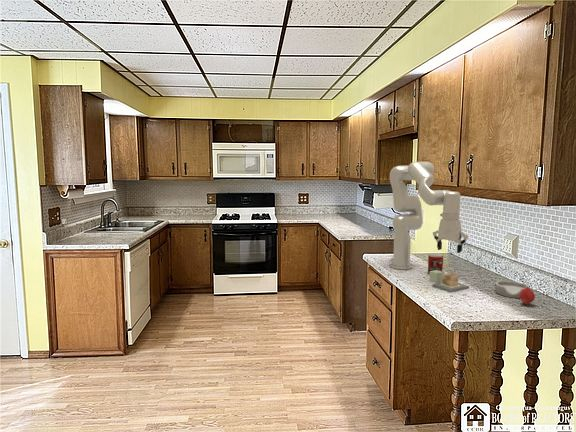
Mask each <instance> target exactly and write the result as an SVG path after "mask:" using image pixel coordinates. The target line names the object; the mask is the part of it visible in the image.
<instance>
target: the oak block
mask: <svg viewBox="0 0 576 432" xmlns="http://www.w3.org/2000/svg"><path fill="white" fill-rule="evenodd" d="M458 283H459V274H456V273H455V274H454V273H451V272H449V273H444V274H443V284H444V285H447V286H450V287H453V286H457V285H458Z"/></svg>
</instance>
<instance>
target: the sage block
mask: <svg viewBox="0 0 576 432" xmlns="http://www.w3.org/2000/svg"><path fill="white" fill-rule="evenodd" d="M443 274H445V272H444V271H443V272H442V271H438V270H434V271H430V273H429V274H428V275H429V277H428V279H429V280H428V281H430V282H433V283H440V282H443Z"/></svg>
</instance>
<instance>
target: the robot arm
mask: <svg viewBox="0 0 576 432" xmlns="http://www.w3.org/2000/svg"><path fill="white" fill-rule="evenodd" d="M434 173H435V167H434V164H433V163H431V162H429V161H413V162H410V164H409V165H397V166H394V167H392V168H391V170H390V172H389V182H390V186H391V189H392V190H391V191H392V198H393V208H394V211H396V212H397V213H401V214H397V215H395V216H394V217H393V219H392V226H393V227H392V228H393V257H391V258H390V259H389V261H390V262H391V264H390V267H391V268H392V269H394V270H395V269H396V270H402V271H405V270H412V269H413V264H411V244H412V243H411V235H410V233H409V231H416V230H420V229H421V228H422V227H423V211H422V210H423V209H422V203H421V200H422V201H423V202H424V203H425V204H426V205H429V206H442V213H440V214H439V216H440V217H441V218H440V221H439V226H438V230H436V231H433V232H432V236H433V238H434V240H435V241H436V244H437V245H436V248H437V251H440V250H442V249H443V246H442V245H443V240H445V241H453V242H456V243H457V248H456V249H457V250H456V253H457V254H460V253H461V252H462V251H463V245H464V244H465V243H466V242H467V241H468V239H469V235H467V234H466V233H464V232H462V230H463V229H462V222H461V219H460V208H461V207H460V206H461V193H460V192H459V191H452V190H449V189H443V190H442V189H437V190H432V189H430V187H431V186H432V185H433V184H434V181H435V176H434ZM404 181H415V183H416V184H417V185H418V189H417V190H418V195H419V196H416V195H409V191H408V187H407V185H406V184H405V182H404ZM419 197H420V198H421V200H420V198H419ZM462 238H463V239H462Z"/></svg>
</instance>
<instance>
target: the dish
mask: <svg viewBox="0 0 576 432" xmlns="http://www.w3.org/2000/svg"><path fill="white" fill-rule="evenodd" d="M493 285H494V290H495V293H496V294H498V295H500V296H503V297H507V298H514V299H516V298H517V299H520V297H519V293H520V291H521V290H523V289H525V288H526V287H529V289H531V288H530V286H529V285H528V284H527V283H523V282H518V281H514V280H511V281H510V280H509V281H508V280H498V281H495V282H494V284H493Z"/></svg>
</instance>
